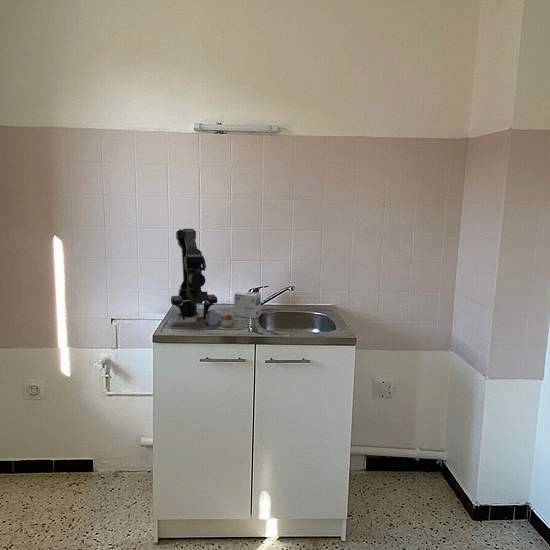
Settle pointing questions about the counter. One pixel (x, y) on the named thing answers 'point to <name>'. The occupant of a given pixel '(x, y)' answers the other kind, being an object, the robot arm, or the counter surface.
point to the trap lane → (223, 317)
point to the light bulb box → (247, 304)
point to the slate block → (213, 317)
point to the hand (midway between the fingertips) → (194, 319)
